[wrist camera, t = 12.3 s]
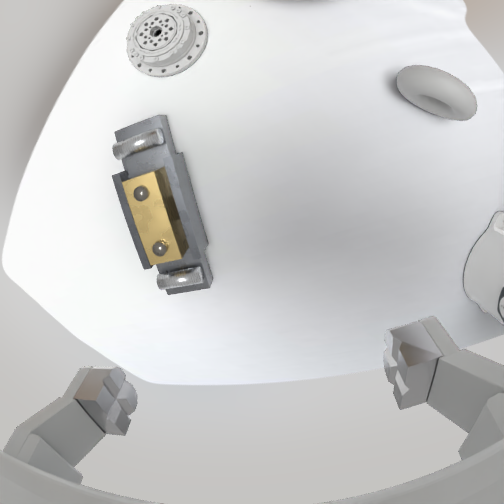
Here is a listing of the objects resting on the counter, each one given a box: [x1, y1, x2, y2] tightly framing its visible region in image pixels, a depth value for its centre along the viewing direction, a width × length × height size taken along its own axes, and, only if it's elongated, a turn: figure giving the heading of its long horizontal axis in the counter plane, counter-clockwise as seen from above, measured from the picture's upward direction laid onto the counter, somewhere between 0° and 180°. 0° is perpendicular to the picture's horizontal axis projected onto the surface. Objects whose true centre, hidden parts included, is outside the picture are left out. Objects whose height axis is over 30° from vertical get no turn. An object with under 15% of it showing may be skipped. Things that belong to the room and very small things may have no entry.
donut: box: [397, 65, 477, 121], centre depth 24 cm, size 10×3×10 cm, turn 74°
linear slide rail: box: [112, 115, 213, 295], centre depth 34 cm, size 8×22×4 cm, turn 13°
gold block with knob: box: [122, 167, 189, 265], centre depth 32 cm, size 4×10×4 cm, turn 13°
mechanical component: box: [126, 4, 207, 77], centre depth 26 cm, size 10×4×10 cm
